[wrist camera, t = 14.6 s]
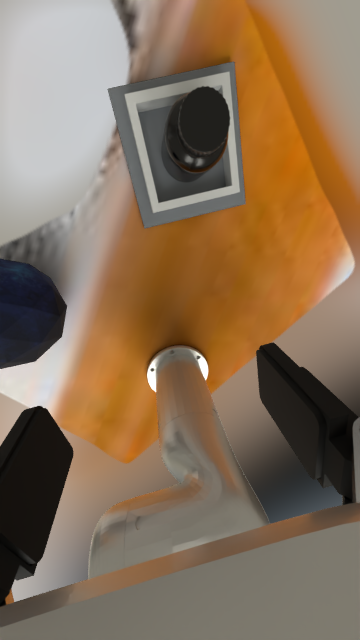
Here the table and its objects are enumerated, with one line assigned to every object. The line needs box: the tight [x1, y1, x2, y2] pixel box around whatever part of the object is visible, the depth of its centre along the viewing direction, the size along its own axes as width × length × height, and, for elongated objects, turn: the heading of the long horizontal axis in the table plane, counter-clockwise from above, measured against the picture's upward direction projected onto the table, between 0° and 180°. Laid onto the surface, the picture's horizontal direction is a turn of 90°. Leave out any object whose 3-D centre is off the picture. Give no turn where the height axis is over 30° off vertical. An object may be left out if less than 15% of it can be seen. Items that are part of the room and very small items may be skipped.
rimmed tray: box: [108, 62, 245, 228], centre depth 30 cm, size 16×16×4 cm
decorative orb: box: [0, 259, 67, 369], centre depth 30 cm, size 14×15×15 cm
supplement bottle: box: [161, 86, 230, 183], centre depth 25 cm, size 7×7×12 cm
